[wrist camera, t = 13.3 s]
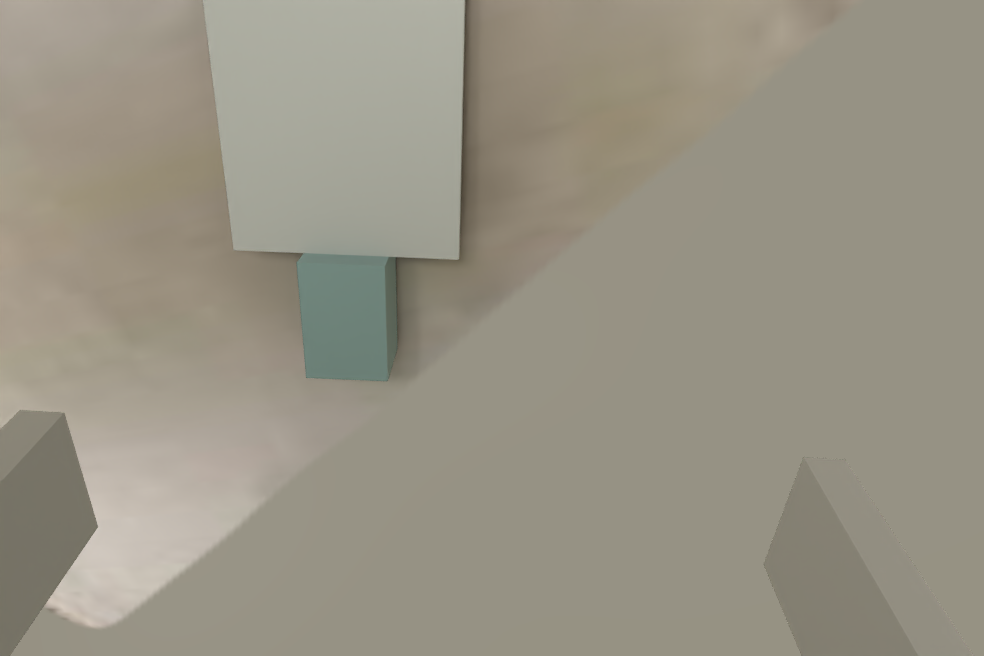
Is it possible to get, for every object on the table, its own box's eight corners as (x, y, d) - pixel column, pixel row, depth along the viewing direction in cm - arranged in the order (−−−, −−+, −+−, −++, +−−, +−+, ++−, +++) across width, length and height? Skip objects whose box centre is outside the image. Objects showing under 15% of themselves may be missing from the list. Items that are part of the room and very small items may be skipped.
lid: (206, -148, 28) (168, -167, 25) (470, -135, 28) (466, -153, 25) (261, 342, 37) (238, 375, 34) (458, 350, 37) (454, 383, 34)
